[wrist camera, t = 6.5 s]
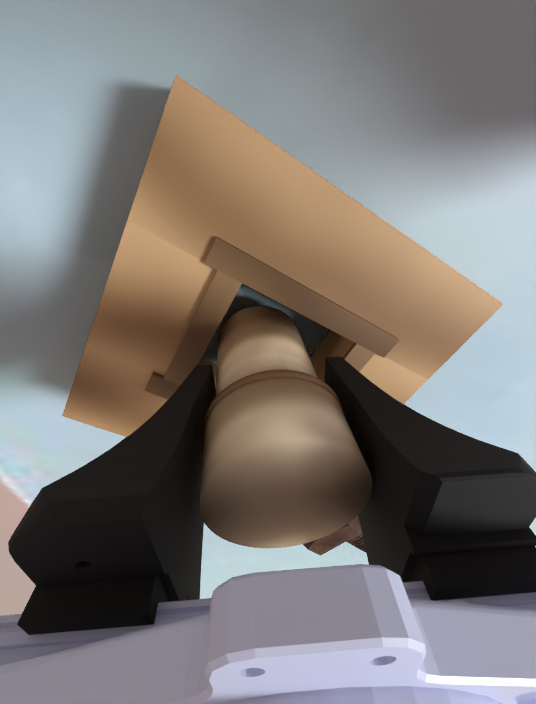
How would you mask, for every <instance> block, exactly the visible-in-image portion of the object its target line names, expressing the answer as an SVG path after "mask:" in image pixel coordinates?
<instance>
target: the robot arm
mask: <svg viewBox="0 0 536 704" xmlns="http://www.w3.org/2000/svg"><path fill="white" fill-rule="evenodd" d="M324 382H325V383H326V384H327V385H328V386H329V387H330V388H331V389H332V390H333V391H334V392H335V394H336V395H337V397H338V399H339V401H340V404H341V406H342V408H343V411H344V416H345V418H346V421H347V423H348V425H349V427H350V429H351V431H352V434H353V436H354V438H355V440H356V442H357V445H358V447H359V449H360V451H361V453H362V456H363V458H364V460H365V462H366V464H367V467H368V469H369V471H370V473H371V477H372V491H371V495H370V497H369V500H368V502H367V503H366V505H365V507H364V508H363V509H362V510H361V512H360V513H359V514H358V517H359V521H360V526H361V530H362V534H363V539H364V544H365V548H366V553H367V557H368V562H369V565H364V564H357V565H344V566H332V567H320V568H307V569H295V570H282V571H270V572H258V573H251V574H246V575H241V576H237V577H232V578H231V579H229V580H228V581H226V582H224V583H223V584H221V585H220V586H218V587H217V588H216V589H215V590H214V591H213V594H212V598H209V599H200V576H201V557H202V540H203V525H204V521H203V519H202V517H201V513H200V505H199V503H200V489H201V476H202V462H203V448H204V440H203V426H204V419H205V415H206V412H207V410H208V408H209V406H210V404H211V403H212V401H213V400H214V399H215V397H216V387H215V381H214V374H213V368H212V365H198V366H196V367H195V368H194V369H193V370H192V371H191V373H190V374H189V375H188V376H187V378H186V379H185V380H184V381H183V383H182V384H181V385H180V386H179V387H178V389H177V390H176V391H175V392H174V393H173V394H172V396H171V397H170V398H169V399H168V400H167V401H166V402H165V403H164V404H163V405H162V406H161V407H160V409H159V410H158V411H157V412H156V413H155V414H154V415H153V416H152V417H150V418H149V419H148V420H147V421H146V422H145V423H144V424H143V425H141V426H140V427H139V428H138V429H137V430H135V431H134V432H133V433H132V434H130V435H129V436H127V437H126V438H125V439H123V440H122V441H121V442H119V443H118V444H117V445H115V446H114V447H113V448H111V449H110V450H108V451H107V452H105V453H104V454H102V455H101V456H99V457H97V458H96V459H94V460H93V461H91V462H89V463H88V464H86V465H84V466H83V467H81V468H79V469H77V470H76V471H74V472H72V473H70V474H68V475H66V476H64V477H63V478H61V479H59V480H57V481H55V482H53V483H51V484H49V485H47V486H45V487H43V488H42V489H41V491H40V492H39V494H38V495H37V497H36V498H35V500H34V501H33V503H32V504H31V506H30V507H29V509H28V511H27V512H26V514H25V516H24V517H23V519H22V520H21V522H20V523H19V525H18V527H17V528H16V530H15V531H14V533H13V535H12V536H11V538H10V540H9V542H8V543H9V544H8V545H9V552H10V554H11V556H12V558H13V559H14V561H15V562H16V563H17V564H18V565H19V567H20V568H21V569H22V570H23V571H24V572H25V573H26V575H27V576H28V577H29V578H30V579H31V580H32V581H33V582H34V583H35V585H36V587H35V589H34V591H33V593H32V595H31V597H30V599H29V601H28V603H27V605H26V607H25V609H24V611H23V613H22V614H15V615H3V616H0V704H536V547H535V546H536V536H535V534H534V533H533V532H532V530H531V529H530V528H529V526H530V525H531V523H532V522H533V520H534V519H535V517H536V472H535V471H534V470H533V469H532V468H531V467H530V466H529V465H528V464H527V462H526V461H525V460H524V459H523V458H522V457H521V456H520V455H519V454H518V453H515V452H512V451H509V450H506V449H503V448H500V447H497V446H494V445H491V444H488V443H485V442H482V441H479V440H477V439H474V438H472V437H469V436H467V435H464V434H462V433H459V432H457V431H455V430H452V429H450V428H448V427H445V426H443V425H441V424H439V423H437V422H435V421H433V420H431V419H429V418H427V417H425V416H423V415H421V414H419V413H417V412H416V411H414V410H412V409H411V408H409V407H407V406H406V405H404V404H402V403H401V402H399V401H397V400H396V399H394V398H393V397H391V396H390V395H389V394H387V393H386V392H384V391H383V390H381V389H380V388H379V387H377V386H376V385H375V384H373V383H372V382H371V381H370V380H368V379H367V378H366V377H365V376H363V375H362V374H361V373H360V372H359V371H357V370H356V369H355V368H354V367H353V366H352V365H350V364H349V363H348V362H347V361H346V360H345V359H343V358H342V357H326V359H325V375H324Z"/></svg>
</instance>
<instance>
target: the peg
mask: <svg viewBox="0 0 536 704" xmlns="http://www.w3.org/2000/svg"><path fill="white" fill-rule="evenodd" d="M203 440H204V448H203V462H202V476H201V489H200V503H199V505H200V513H201V517H202V519H203V521H204V523H205V524H206V525H207V527H208V528H209V529H210V530H211V531H212V532H214V533H215V534H216V535H218V536H219V537H221V538H223V539H225V540H227V541H229V542H232V543H235V544H239V545H243V546H248V547H255V548H281V547H289V546H295V545H300V544H304V543H308V542H311V541H314V540H317V539H320V538H322V537H325V536H327V535H329V534H331V533H333V532H335V531H337V530H339V529H340V528H342V527H343V526H345V525H346V524H348V523H349V522H350V521H351V520H353V519H354V518H355V517H356V516H357V515H358V514H359V513H360V512H361V510H362V509H363V508H364V507H365V505H366V503H367V502H368V500H369V497H370V495H371V491H372V477H371V473H370V471H369V469H368V467H367V464H366V462H365V460H364V458H363V456H362V453H361V451H360V449H359V447H358V445H357V442H356V440H355V438H354V436H353V434H352V431H351V429H350V427H349V425H348V423H347V421H346V418H345V416H344V411H343V408H342V406H341V404H340V401H339V399H338V397H337V395H336V394H335V392H334V391H333V390H332V389H331V388H330V387H329V386H328V385H327V384H326V383H325V382H323V381H322V380H320V379H318V377H317V375H316V373H315V370H314V368H313V365H312V363H311V360H310V358H309V356H308V353H307V351H306V348H305V346H304V344H303V341H302V339H301V336H300V334H299V332H298V329H297V327H296V325H295V323H294V322H293V320H292V319H291V318H290V317H289V316H288V315H287V314H285V313H284V312H282V311H281V310H278V309H276V308H273V307H269V306H253V307H248V308H245V309H242V310H240V311H238V312H237V313H235V314H234V315H232V316H231V317H230V318H229V319H228V320H227V321H226V322H225V324H224V325H223V327H222V329H221V331H220V334H219V338H218V356H217V383H216V397H215V399H214V400H213V401H212V403H211V404H210V406H209V408H208V410H207V412H206V415H205V419H204V426H203Z"/></svg>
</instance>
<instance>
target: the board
mask: <svg viewBox="0 0 536 704" xmlns="http://www.w3.org/2000/svg"><path fill="white" fill-rule="evenodd" d="M242 283H243V284H245V285H246V286H248V287H250V288H252V289H254V290H256V291H258V292H260V293H262V294H263V295H265V296H267V297H269V298H271V299H273V300H275V301H277V302H279V303H281V304H282V305H284V306H286V307H288V308H290V309H292V310H294V311H296V312H298V313H300V314H301V315H303V316H305V317H307V318H309V319H311V320H313V321H315V322H317V323H318V324H320V325H322V326H324V327H326V328H328V329H330V332H329V333H328V334H327V336H326V337H325V338H324V340H323V341H322V342H321V344H320V345H319V347H318V348H317V349H316V351H315V352H314V353H313V355H312V356H311V357H310V360H311V363H312V365H313V368H314V370H315V373H316V375H317V377H318V379H320V380H322V381H323V382H324V375H325V359H326V357H342V358H343V359H345V360H346V361H347V362H348V363H349V364H350V365H352V366H353V367H354V368H355V369H356V370H357V371H359V372H360V373H361V374H362V375H363V376H365V377H366V378H367V379H368V380H370V381H371V382H372V383H373V384H375V385H376V386H377V387H379V388H380V389H381V390H383V391H384V392H386V393H387V394H389V395H390V396H391V397H393V398H394V399H396V400H397V401H399V402H401V403H402V404H404V403H405V402H406V401H407V400H408V399H409V398H410V397H411V396H412V395H413V394H414V393H415V392H416V391H417V390H418V389H419V388H420V387H421V386H422V385H423V384H424V383H425V382H426V381H427V380H428V379H429V378H430V377H431V376H432V375H433V374H434V373H435V372H436V371H437V370H438V369H439V368H440V367H441V366H442V365H443V364H444V363H445V362H446V361H447V360H448V359H449V358H450V357H451V356H452V355H453V354H454V353H455V352H456V351H457V350H458V349H459V348H460V347H461V346H462V345H463V344H464V343H465V342H466V341H467V340H468V339H469V338H470V337H471V336H472V335H473V334H474V333H475V332H476V331H477V330H478V329H479V328H480V327H481V326H482V325H483V324H484V323H485V322H486V321H487V320H488V319H489V318H490V317H491V316H492V315H493V314H494V313H495V312H496V311H497V310H498V309H499V308H500V307H501V306H502V305H503V303H501V302H500V301H499V300H497V299H496V298H494V297H493V296H491V295H490V294H489V293H487V292H486V291H484V290H483V289H481V288H480V287H479V286H477V285H476V284H474V283H473V282H471V281H470V280H469V279H467V278H466V277H464V276H463V275H461V274H460V273H459V272H457V271H456V270H454V269H453V268H451V267H450V266H449V265H447V264H446V263H444V262H443V261H441V260H440V259H439V258H437V257H436V256H434V255H433V254H431V253H430V252H429V251H427V250H426V249H424V248H423V247H421V246H420V245H419V244H417V243H416V242H414V241H413V240H411V239H410V238H409V237H407V236H406V235H404V234H403V233H401V232H400V231H399V230H397V229H396V228H394V227H393V226H391V225H390V224H389V223H387V222H386V221H384V220H383V219H381V218H380V217H379V216H377V215H376V214H374V213H373V212H371V211H370V210H369V209H367V208H366V207H364V206H363V205H361V204H360V203H359V202H357V201H356V200H354V199H353V198H351V197H350V196H349V195H347V194H346V193H344V192H343V191H341V190H340V189H339V188H337V187H336V186H334V185H333V184H331V183H330V182H329V181H327V180H326V179H324V178H323V177H321V176H320V175H319V174H317V173H316V172H314V171H313V170H311V169H310V168H309V167H307V166H306V165H304V164H303V163H301V162H300V161H299V160H297V159H296V158H294V157H293V156H291V155H290V154H289V153H287V152H286V151H284V150H283V149H281V148H280V147H279V146H277V145H276V144H274V143H273V142H271V141H270V140H269V139H267V138H266V137H264V136H263V135H261V134H260V133H259V132H257V131H256V130H254V129H253V128H251V127H250V126H249V125H247V124H246V123H244V122H243V121H241V120H240V119H239V118H237V117H236V116H234V115H233V114H231V113H230V112H229V111H227V110H226V109H224V108H223V107H221V106H220V105H219V104H217V103H216V102H214V101H213V100H211V99H210V98H209V97H207V96H206V95H204V94H203V93H201V92H200V91H199V90H197V89H196V88H194V87H193V86H191V85H190V84H189V83H187V82H186V81H184V80H183V79H181V78H180V77H179V76H177V75H175V78H174V81H173V84H172V87H171V90H170V93H169V96H168V99H167V102H166V105H165V108H164V111H163V114H162V117H161V120H160V123H159V126H158V129H157V132H156V135H155V138H154V141H153V144H152V147H151V150H150V153H149V157H148V160H147V163H146V166H145V169H144V172H143V175H142V178H141V181H140V184H139V187H138V190H137V193H136V196H135V199H134V202H133V205H132V208H131V211H130V214H129V217H128V220H127V223H126V226H125V229H124V232H123V235H122V238H121V241H120V244H119V247H118V250H117V253H116V256H115V259H114V262H113V265H112V268H111V271H110V274H109V277H108V280H107V283H106V286H105V289H104V292H103V295H102V298H101V301H100V304H99V307H98V310H97V313H96V316H95V319H94V322H93V325H92V328H91V331H90V334H89V337H88V340H87V343H86V346H85V349H84V352H83V355H82V358H81V361H80V364H79V367H78V370H77V373H76V376H75V379H74V382H73V385H72V388H71V391H70V394H69V397H68V400H67V403H66V406H65V409H64V412H63V415H62V416H64V417H67V418H70V419H73V420H76V421H79V422H82V423H85V424H89V425H92V426H95V427H98V428H101V429H104V430H107V431H110V432H113V433H116V434H119V435H123V436H126V437H127V436H129V435H130V434H132V433H133V432H134V431H135V430H137V429H138V428H139V427H140V426H141V425H143V424H144V423H145V422H146V421H147V420H148V419H149V418H150V417H152V416H153V415H154V414H155V413H156V412H157V411H158V410H159V409H160V407H161V406H162V405H163V404H164V403H165V402H166V401H167V400H168V399H169V398H170V397H171V396H172V394H173V393H174V392H175V391H176V390H177V389H178V387H179V386H180V385H181V384H182V383H183V381H184V380H185V379H186V378H187V376H188V375H189V374H190V373H191V371H192V370H193V369H194V368H195V367H196V366H198V365H212V368H213V374H214V381H215V387H216V383H217V365H216V364H214V363H211V362H209V361H207V360H204V359H202V356H203V354H204V352H205V350H206V348H207V347H208V345H209V343H210V341H211V339H212V337H213V336H214V334H215V332H216V330H217V328H218V327H219V325H220V323H221V321H222V319H223V317H224V316H225V314H226V312H227V310H228V308H229V306H230V305H231V303H232V301H233V299H234V297H235V295H236V294H237V292H238V290H239V288H240V286H241V285H242Z"/></svg>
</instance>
